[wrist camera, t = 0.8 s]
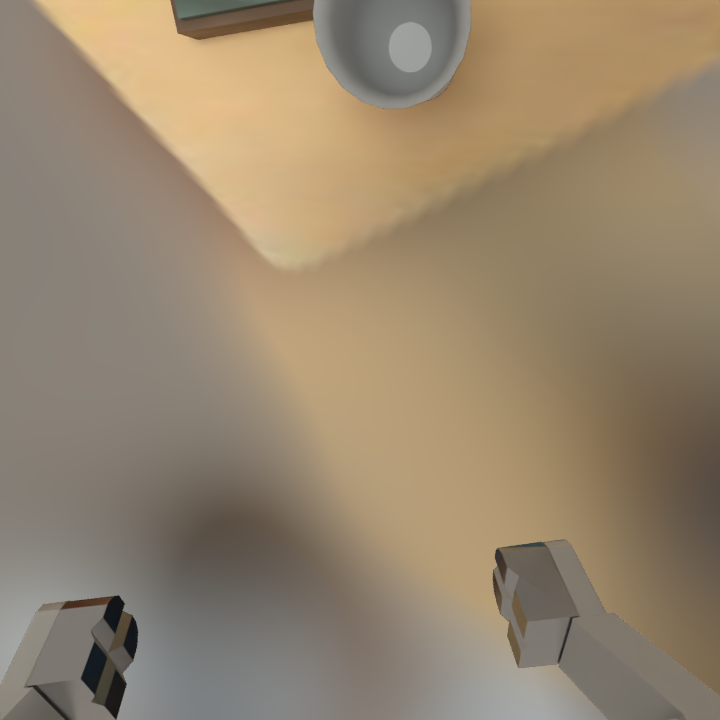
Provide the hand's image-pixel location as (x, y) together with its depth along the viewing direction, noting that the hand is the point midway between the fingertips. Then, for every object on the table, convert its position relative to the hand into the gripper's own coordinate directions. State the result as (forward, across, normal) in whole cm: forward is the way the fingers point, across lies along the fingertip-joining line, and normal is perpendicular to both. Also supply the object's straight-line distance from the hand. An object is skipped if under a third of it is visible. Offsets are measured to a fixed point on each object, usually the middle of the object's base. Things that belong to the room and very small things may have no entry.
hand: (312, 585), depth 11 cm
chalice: (+37, -10, -7) cm, 39 cm away
